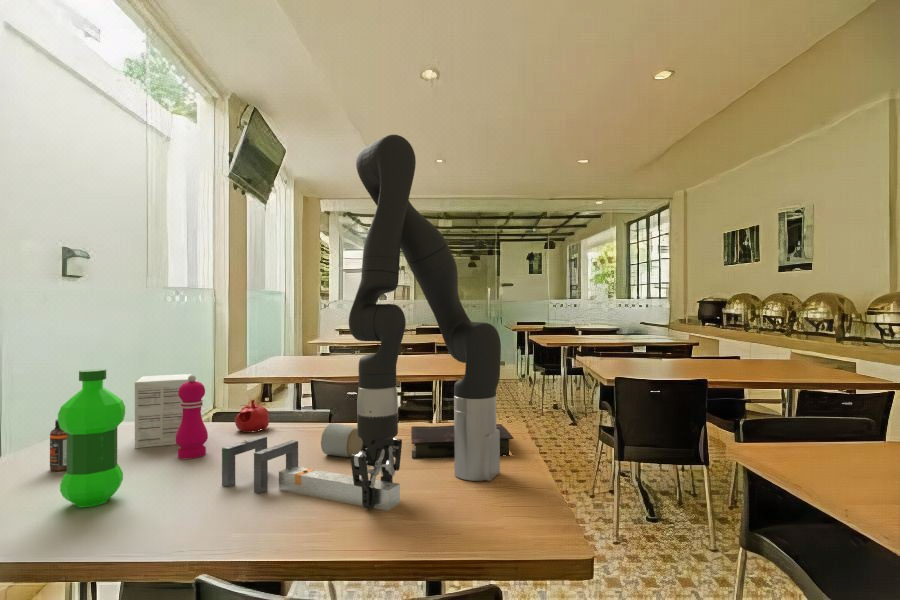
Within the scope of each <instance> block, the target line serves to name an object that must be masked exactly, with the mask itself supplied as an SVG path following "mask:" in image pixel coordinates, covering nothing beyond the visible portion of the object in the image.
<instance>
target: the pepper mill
mask: <svg viewBox="0 0 900 600" xmlns="http://www.w3.org/2000/svg"><path fill="white" fill-rule="evenodd" d="M196 380H197V376H196V375H194V374H193V375H190V376H189V377H188V381H189V382H186V383H184V384H182V385H181V386H180V388H179V391H178V395H179V397H180V398H181V399H182V402H181V408H182V409H183V416H182V421H181V424H180V427H179V429H178V431H177V434H176V444H175V445H177V446H178V447H179V448H178V449H177V458H179V459H182V460H191V458H192V459H196V458H201V457H203V456H206V454H207V453H206V452H207V449H206V447H207V446H205V445H204V444H205V443H206V442H207V441H208V438H209V434H208V429H207V427H206V425H205V423H204V421H203V417H202V407H203V406H204V403H203V402H204V401H203V398H204V396H205V394H206V387H205V386H204V384H203V383H201V382H200V381H196ZM200 456H201V457H200Z"/></svg>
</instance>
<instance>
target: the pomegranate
mask: <svg viewBox="0 0 900 600" xmlns="http://www.w3.org/2000/svg"><path fill="white" fill-rule="evenodd" d="M250 402H251V403H250ZM250 402H249V403H248V404H242V405H240V407H242V406H243V407H242V408H241V410H240V413H238V414H237V415H236V416H235V418H234V423H235V424H234V425H235V426H236V428H237V430H239V431H241V432H243V431H244V432H243V433H253V432H252V431H258V430H260V429H264V430H266V429H267V428H268V426H269V423H270V413H269V410H268V409H267V408H266V407H264V406H266V404H264V403H261V402H255V398H254V399H251V400H250ZM257 404H258V405H257ZM265 428H266V429H265ZM258 432H259V431H258Z"/></svg>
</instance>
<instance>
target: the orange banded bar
mask: <svg viewBox="0 0 900 600" xmlns="http://www.w3.org/2000/svg"><path fill="white" fill-rule="evenodd" d="M359 478H360V479H361V476H359ZM368 479H369V481H370V477H368ZM374 487H375V506H374V507H373V508H372V509H377V510H381V511H387V512H389V511H391V510H392V509H394V508H395V507H397V506H399V505H400V504H401V483H398V482H387V481H381V479H376V480H375V485H374ZM278 490H279V491H282V492H289V493H293V494H299V495H304V496H310V497H314V498H320V499H325V500H329V501H336V502H341V503H345V504H351V505H356V506H361V507H363V504H362V487H359V486H355V485H354V481H353V475H349V474H343V473H337V472H331V471H326V470H320V469H315V468H310V467H309V468H307V467H301V466H298V467H296V466H292V467H289V468H287V469H286V468H284V469H282V470H279V471H278Z"/></svg>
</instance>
